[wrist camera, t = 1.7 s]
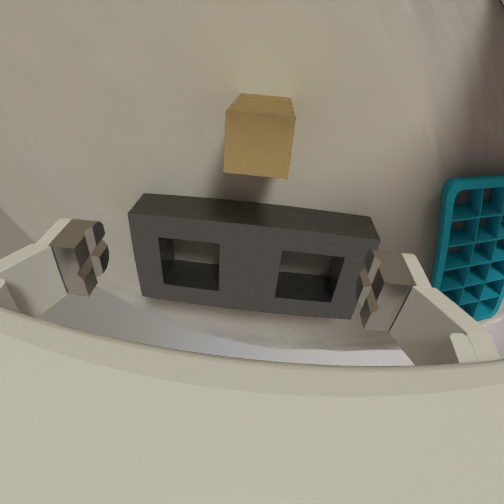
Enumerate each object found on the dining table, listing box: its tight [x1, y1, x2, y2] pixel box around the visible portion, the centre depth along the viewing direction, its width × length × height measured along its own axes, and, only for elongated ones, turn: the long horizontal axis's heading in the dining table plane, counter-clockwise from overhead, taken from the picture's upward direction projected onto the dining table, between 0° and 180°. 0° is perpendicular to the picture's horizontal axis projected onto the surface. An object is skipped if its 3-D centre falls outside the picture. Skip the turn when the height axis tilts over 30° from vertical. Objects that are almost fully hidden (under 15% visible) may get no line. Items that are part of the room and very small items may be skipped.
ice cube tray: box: [430, 175, 504, 321], centre depth 29 cm, size 12×20×3 cm, turn 12°
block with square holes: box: [128, 193, 380, 319], centre depth 31 cm, size 22×10×4 cm, turn 86°
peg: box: [223, 93, 296, 179], centre depth 21 cm, size 4×4×8 cm
